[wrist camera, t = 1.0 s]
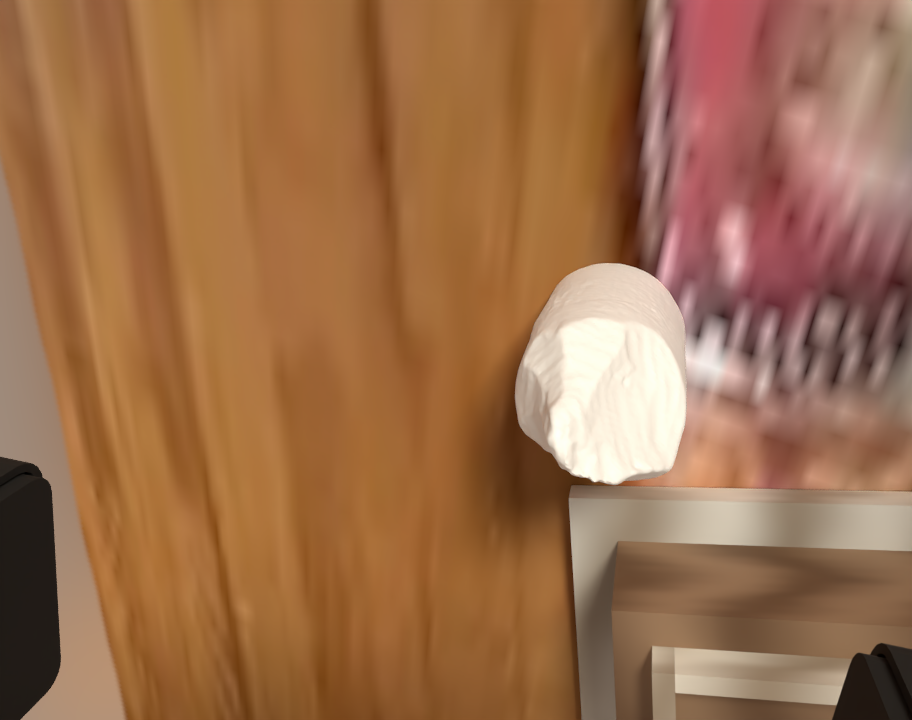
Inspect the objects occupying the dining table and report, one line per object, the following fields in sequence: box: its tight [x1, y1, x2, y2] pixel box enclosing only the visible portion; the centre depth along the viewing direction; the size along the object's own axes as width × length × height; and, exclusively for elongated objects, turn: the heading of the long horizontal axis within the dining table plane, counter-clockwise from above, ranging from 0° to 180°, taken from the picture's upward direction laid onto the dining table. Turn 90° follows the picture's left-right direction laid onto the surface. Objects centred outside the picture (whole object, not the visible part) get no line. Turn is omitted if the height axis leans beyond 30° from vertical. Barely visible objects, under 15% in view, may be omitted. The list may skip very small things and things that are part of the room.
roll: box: [515, 263, 687, 485], centre depth 29 cm, size 6×12×6 cm
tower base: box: [569, 485, 912, 720], centre depth 34 cm, size 16×16×8 cm
